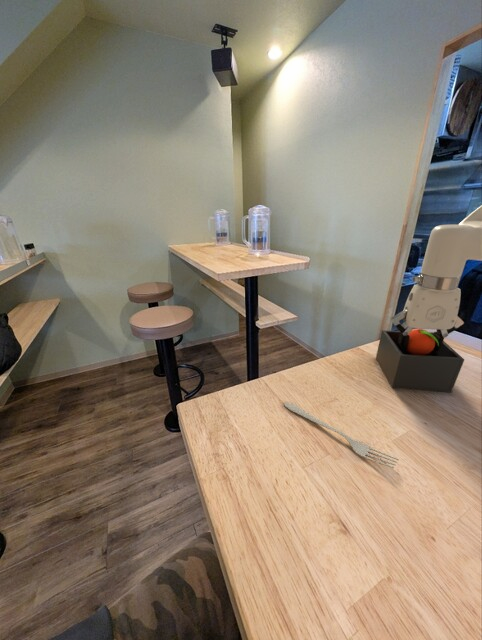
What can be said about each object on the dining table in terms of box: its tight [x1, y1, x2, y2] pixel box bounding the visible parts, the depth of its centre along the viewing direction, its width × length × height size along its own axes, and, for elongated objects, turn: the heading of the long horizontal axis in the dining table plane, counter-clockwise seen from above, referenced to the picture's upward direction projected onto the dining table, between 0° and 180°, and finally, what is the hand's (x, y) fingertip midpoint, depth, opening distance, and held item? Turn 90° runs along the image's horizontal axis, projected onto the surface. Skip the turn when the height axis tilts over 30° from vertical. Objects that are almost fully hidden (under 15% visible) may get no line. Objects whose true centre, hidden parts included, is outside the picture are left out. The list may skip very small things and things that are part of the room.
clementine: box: [406, 328, 439, 355], centre depth 65 cm, size 8×7×7 cm
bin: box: [375, 329, 465, 393], centre depth 67 cm, size 14×14×10 cm
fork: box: [283, 401, 399, 469], centre depth 53 cm, size 3×24×2 cm, turn 44°
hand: (418, 346), depth 66 cm, fingers closed on clementine, 6 cm apart
